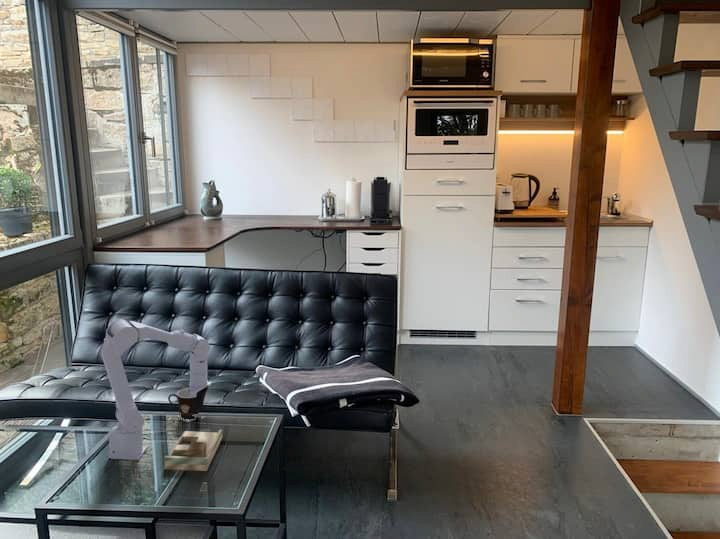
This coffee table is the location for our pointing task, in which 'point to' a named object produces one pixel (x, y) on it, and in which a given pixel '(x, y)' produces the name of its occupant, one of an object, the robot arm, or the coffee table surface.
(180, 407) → the coffee mug
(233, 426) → the coffee table surface
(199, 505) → the coffee table surface
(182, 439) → the trap deck
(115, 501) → the coffee table surface
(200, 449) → the walnut block
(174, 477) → the coffee table surface
